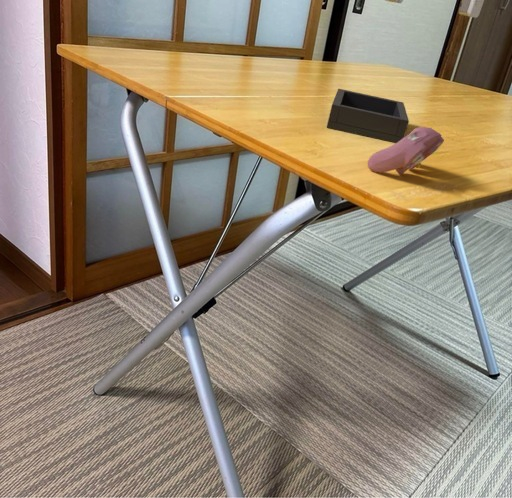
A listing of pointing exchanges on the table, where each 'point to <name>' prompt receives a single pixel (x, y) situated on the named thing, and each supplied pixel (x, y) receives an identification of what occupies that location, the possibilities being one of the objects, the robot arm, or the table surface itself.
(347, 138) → the table surface
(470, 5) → the robot arm
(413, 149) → the video game controller
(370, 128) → the open box
